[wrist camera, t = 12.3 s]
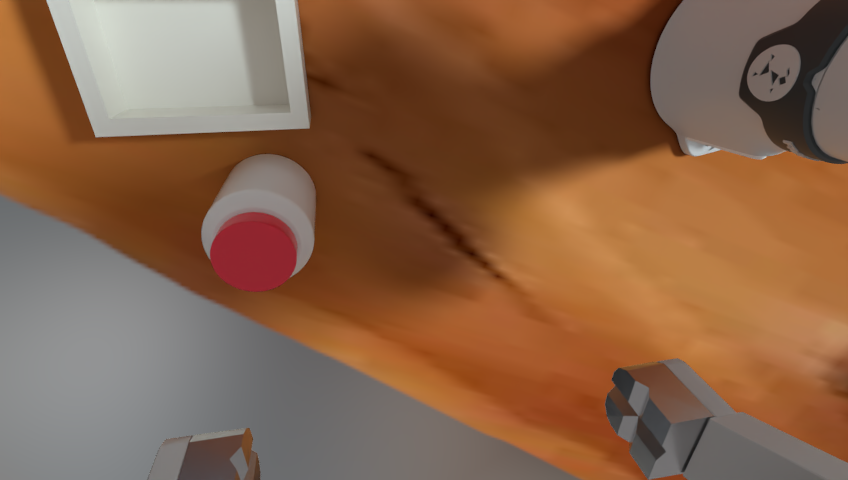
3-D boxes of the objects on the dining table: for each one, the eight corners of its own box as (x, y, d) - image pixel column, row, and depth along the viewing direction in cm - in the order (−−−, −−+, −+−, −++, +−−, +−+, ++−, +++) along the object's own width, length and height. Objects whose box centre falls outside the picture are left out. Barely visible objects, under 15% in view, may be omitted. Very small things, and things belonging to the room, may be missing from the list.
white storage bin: (293, -32, 31) (290, -36, 27) (311, 116, 36) (309, 128, 32) (66, -37, 28) (30, -43, 25) (119, 123, 33) (95, 137, 30)
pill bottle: (307, 241, 41) (302, 311, 32) (219, 225, 39) (185, 296, 29) (324, 165, 38) (324, 219, 28) (230, 143, 35) (196, 193, 26)
